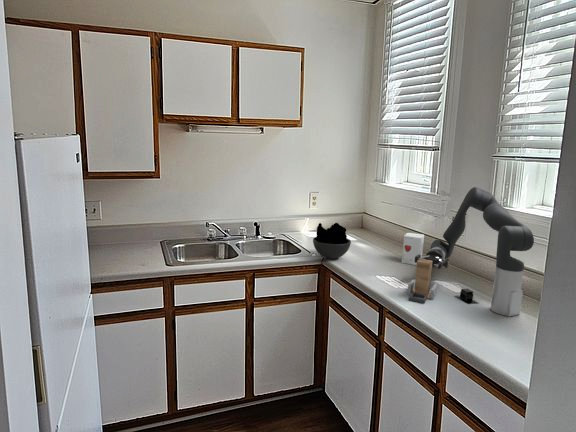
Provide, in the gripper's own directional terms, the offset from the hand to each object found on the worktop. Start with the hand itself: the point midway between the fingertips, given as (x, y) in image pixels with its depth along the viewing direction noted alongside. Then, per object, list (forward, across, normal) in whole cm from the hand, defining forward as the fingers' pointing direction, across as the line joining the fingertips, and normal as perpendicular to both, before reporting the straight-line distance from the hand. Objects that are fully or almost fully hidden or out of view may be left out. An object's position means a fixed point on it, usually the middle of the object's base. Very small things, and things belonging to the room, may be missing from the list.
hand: (428, 264), depth 184 cm
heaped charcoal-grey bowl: (-18, -53, +11) cm, 57 cm away
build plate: (+5, +17, +11) cm, 21 cm away
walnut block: (+11, 0, +10) cm, 14 cm away
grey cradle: (+9, 0, +10) cm, 14 cm away
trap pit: (+17, 0, +10) cm, 20 cm away
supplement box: (-36, -15, +11) cm, 40 cm away
